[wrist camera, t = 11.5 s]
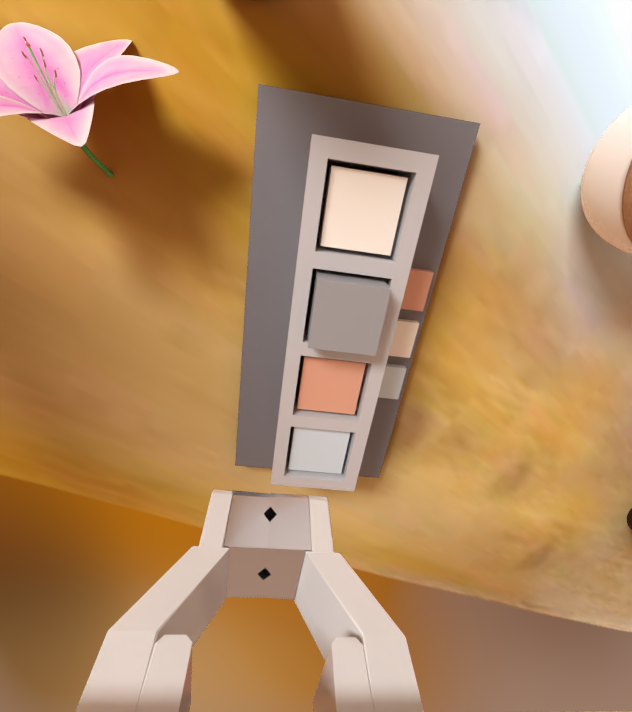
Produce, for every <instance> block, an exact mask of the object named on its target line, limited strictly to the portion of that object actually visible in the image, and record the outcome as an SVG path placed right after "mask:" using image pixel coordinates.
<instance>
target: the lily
mask: <svg viewBox="0 0 632 712" xmlns="http://www.w3.org/2000/svg"><path fill="white" fill-rule="evenodd" d="M131 42H132V40H126V39H121V40H112V41H107V42H101V43H97V44H94V45H90V46H86V47H84V48H81V49H78V50H76V51H74V52H73V51H72V50H71V48H70V46H69V45H68V44H67V43H66V42H65V41H64V40H63V39H62V38H61V37H59V36H58V35H56V34H54V33H53V32H51V31H49V30H47V29H45V28H42V27H40V26H37V25H33V24H30V23H24V22H19V23H11V24H8V25H7V26H5V27H4V28H2V29H1V30H0V116H4V115H12V114H18V115H21V116H24V117H27V119H28V120H30V121H31V122H33V123H34V124H36V125H37V126H39V127H41V128H42V129H44V130H46V131H48V132H49V133H51V134H53V135H55V136H57V137H59V138H60V139H62V140H64V141H66V142H68V143H70V144H72V145H75V146H80V147H81V148H82V149H83V150H84V152H85V153H86V154H87V155H88V156H89V157H90V158H91V159H92V160H93V161H94V162H95V163H96V164H97V165H98V166H99V167H100V168H101V169H102V170H103V171H104V172H105V173H106V174H107V175H108V176H109V177H111V178H112V177H113V176H114V175H113V174H112V173H111V172H110V171H109V170H108V169H107V168H106V167H105V166H104V165H103V164H102V163H101V162H100V161H99V160H98V159H97V158H96V157H95V156H94V155H93V154H92V153H91V152H90V150H89V149H88V148H87V147H86V145H85V143H86V141H87V138H88V135H89V131H90V126H91V122H92V117H93V111H94V101H93V99H94V97H95V96H96V94H97V93H99V92H101V91H103V90H105V89H108V88H111V87H114V86H117V85H120V84H124V83H129V82H134V81H139V80H145V79H151V78H157V77H163V76H168V75H173V74H176V73H177V72H179V71H178V70H177V69H176V68H175V67H172V66H170V65H168V64H165V63H162V62H159V61H156V60H152V59H149V58H144V57H139V56H133V55H121V54H122V53H123V52H124V50H125V49H126V48H127V47H128V46H129V44H130V43H131Z"/></svg>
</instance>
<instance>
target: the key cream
mask: <svg viewBox="0 0 632 712" xmlns="http://www.w3.org/2000/svg"><path fill="white" fill-rule="evenodd" d="M407 180H408V178H406V177H400V176H393V175H387V174H381V173H375V172H369V171H362V170H356V169H350V168H344V167H338V166H329V167H328V168H327V176H326V183H325V190H324V197H323V204H322V212H321V219H320V226H319V233H318V238H319V242H320V246H325V247H333V248H340V249H347V250H354V251H361V252H368V253H375V254H382V255H389V256H390V255H391V250H392V246H393V242H394V237H395V233H396V228H397V224H398V219H399V215H400V211H401V206H402V202H403V197H404V193H405V188H406V184H407Z"/></svg>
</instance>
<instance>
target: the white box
mask: <svg viewBox="0 0 632 712" xmlns="http://www.w3.org/2000/svg"><path fill="white" fill-rule="evenodd" d="M349 437H350V432H343V431H332V430H322V429H312V428H302V427H292V428H291V435H290V448H289V467H288V469H290V470H302V471H313V472H325V473H336V474H341V472H342V468H343V463H344V459H345V454H346V450H347V445H348V441H349Z"/></svg>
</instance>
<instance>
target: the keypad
mask: <svg viewBox="0 0 632 712" xmlns="http://www.w3.org/2000/svg"><path fill="white" fill-rule="evenodd" d="M479 126H480V123H475V122H469V121H464V120H458V119H452V118H447V117H441V116H436V115H430V114H424V113H419V112H413V111H407V110H402V109H396V108H391V107H385V106H379V105H374V104H368V103H362V102H357V101H351V100H346V99H340V98H334V97H329V96H323V95H318V94H312V93H306V92H301V91H295V90H289V89H284V88H278V87H273V86H267V85H261V84H259V86H258V102H257V119H256V135H255V152H254V168H253V184H252V201H251V217H250V234H249V250H248V266H247V283H246V299H245V316H244V332H243V348H242V365H241V381H240V398H239V414H238V430H237V447H236V463H235V465H238V466H250V467H261V468H272V476H271V484H272V485H284V486H296V487H308V488H320V489H332V490H344V491H354V490H355V486H356V482H357V478H358V476H364V477H376V478H379V475H380V472H381V468H382V465H383V461H384V458H385V454H386V451H387V447H388V444H389V440H390V437H391V433H392V430H393V426H394V423H395V419H396V416H397V412H398V409H399V405H400V402H401V398H402V395H403V391H404V388H405V384H406V381H407V377H408V374H409V370H410V367H411V363H412V360H413V356H414V353H415V349H416V346H417V342H418V339H419V335H420V332H421V328H422V325H423V321H424V318H425V314H426V311H427V307H428V304H429V300H430V297H431V293H432V290H433V286H434V283H435V279H436V276H437V272H438V269H439V265H440V262H441V258H442V255H443V251H444V248H445V244H446V241H447V238H448V234H449V231H450V227H451V224H452V220H453V217H454V213H455V210H456V206H457V203H458V199H459V196H460V192H461V189H462V185H463V182H464V178H465V175H466V171H467V168H468V164H469V161H470V157H471V154H472V150H473V147H474V143H475V140H476V136H477V133H478V129H479ZM329 166H338V167H344V168H350V169H356V170H362V171H369V172H375V173H381V174H387V175H393V176H400V177H406V178H408V180H407V184H406V188H405V193H404V197H403V202H402V206H401V211H400V215H399V219H398V224H397V228H396V233H395V237H394V242H393V246H392V250H391V255H390V256H389V255H382V254H375V253H368V252H361V251H354V250H347V249H340V248H333V247H325V246H320V242H319V238H318V233H319V226H320V219H321V212H322V204H323V197H324V190H325V183H326V176H327V168H328V167H329ZM315 269H323V270H330V271H338V272H345V273H352V274H360V275H367V276H374V277H382V278H383V279H384V281H385V282H386V283H387V285H388V286H389V287H390V289H391V293H390V297H389V301H388V306H387V310H386V314H385V318H384V323H383V327H382V331H381V335H380V339H379V344H378V348H377V352H376V356H372V355H363V354H355V353H346V352H338V351H329V350H321V349H312V348H308V337H307V323H308V316H309V309H310V302H311V295H312V288H313V281H314V273H315ZM301 356H310V357H319V358H328V359H336V360H345V361H354V362H362V363H366V366H365V370H364V375H363V379H362V383H361V388H360V392H359V397H358V401H357V406H356V410H355V414H354V415H353V414H344V413H334V412H324V411H314V410H304V409H297V393H298V377H299V370H300V363H301ZM292 427H302V428H312V429H322V430H332V431H343V432H350V437H349V441H348V445H347V450H346V454H345V459H344V463H343V468H342V472H341V474H336V473H325V472H313V471H302V470H290V469H288V467H289V448H290V435H291V428H292Z"/></svg>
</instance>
